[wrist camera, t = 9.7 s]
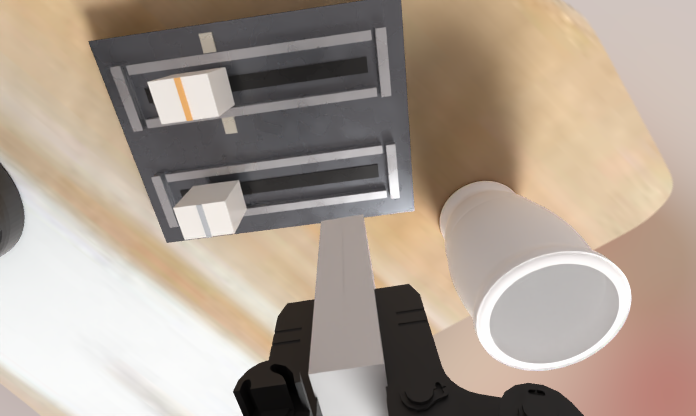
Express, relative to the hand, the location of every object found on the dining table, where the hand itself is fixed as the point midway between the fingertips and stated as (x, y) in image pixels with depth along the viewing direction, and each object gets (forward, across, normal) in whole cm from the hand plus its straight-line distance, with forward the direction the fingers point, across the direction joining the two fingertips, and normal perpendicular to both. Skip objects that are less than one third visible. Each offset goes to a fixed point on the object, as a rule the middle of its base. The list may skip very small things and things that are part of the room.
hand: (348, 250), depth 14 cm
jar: (+23, +12, -13) cm, 29 cm away
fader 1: (+20, -10, +5) cm, 23 cm away
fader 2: (+20, -12, -4) cm, 24 cm away
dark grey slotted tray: (+23, -6, 0) cm, 24 cm away
